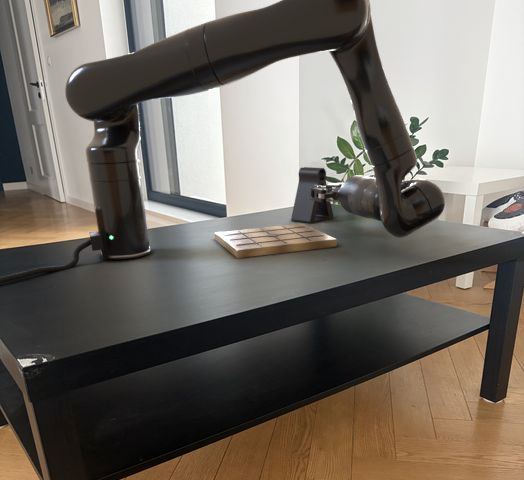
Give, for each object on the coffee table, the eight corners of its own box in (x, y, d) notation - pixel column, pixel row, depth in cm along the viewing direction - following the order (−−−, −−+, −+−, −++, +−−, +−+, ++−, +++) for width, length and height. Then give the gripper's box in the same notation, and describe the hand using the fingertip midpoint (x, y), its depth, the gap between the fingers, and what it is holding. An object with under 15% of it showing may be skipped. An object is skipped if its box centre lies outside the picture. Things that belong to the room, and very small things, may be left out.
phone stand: (309, 223, 129) (309, 170, 124) (290, 221, 133) (289, 169, 128) (333, 217, 135) (334, 166, 130) (314, 215, 139) (314, 165, 134)
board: (237, 258, 101) (236, 249, 101) (215, 239, 117) (214, 231, 116) (336, 246, 106) (336, 238, 106) (302, 230, 122) (302, 222, 122)
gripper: (399, 173, 107) (361, 167, 121) (332, 179, 103) (301, 172, 118) (397, 213, 110) (360, 202, 124) (332, 220, 106) (301, 208, 121)
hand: (331, 188), depth 121 cm, fingers open, 8 cm apart
